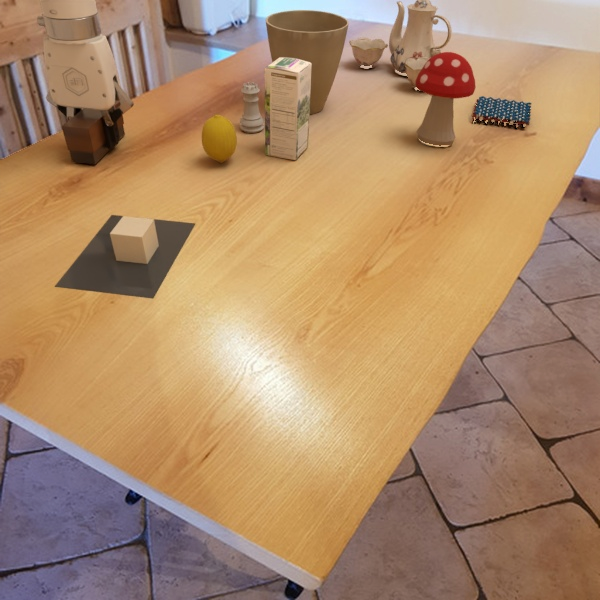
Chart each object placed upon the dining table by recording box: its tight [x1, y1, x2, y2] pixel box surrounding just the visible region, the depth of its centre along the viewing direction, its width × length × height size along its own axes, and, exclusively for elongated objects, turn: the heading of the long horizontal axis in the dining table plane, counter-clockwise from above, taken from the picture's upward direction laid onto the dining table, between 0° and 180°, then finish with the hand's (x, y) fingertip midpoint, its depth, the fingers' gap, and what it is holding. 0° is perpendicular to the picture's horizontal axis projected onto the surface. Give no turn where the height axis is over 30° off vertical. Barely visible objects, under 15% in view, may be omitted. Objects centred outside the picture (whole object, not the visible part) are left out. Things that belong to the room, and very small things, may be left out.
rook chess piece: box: [239, 81, 265, 134], centre depth 98 cm, size 4×4×8 cm
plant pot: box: [265, 9, 350, 115], centre depth 103 cm, size 15×15×16 cm
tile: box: [54, 214, 196, 299], centre depth 69 cm, size 12×16×1 cm
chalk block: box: [110, 215, 159, 264], centre depth 67 cm, size 4×4×4 cm
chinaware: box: [348, 0, 453, 87], centre depth 119 cm, size 28×17×17 cm, turn 42°
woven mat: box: [471, 95, 532, 127], centre depth 106 cm, size 10×11×2 cm
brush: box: [61, 101, 126, 165], centre depth 91 cm, size 12×4×6 cm, turn 171°
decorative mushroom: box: [415, 51, 476, 146], centre depth 93 cm, size 10×9×15 cm
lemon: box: [201, 113, 238, 164], centre depth 87 cm, size 6×6×8 cm
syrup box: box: [264, 57, 312, 161], centre depth 89 cm, size 6×6×14 cm
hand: (98, 143), depth 92 cm, fingers closed on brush, 4 cm apart
